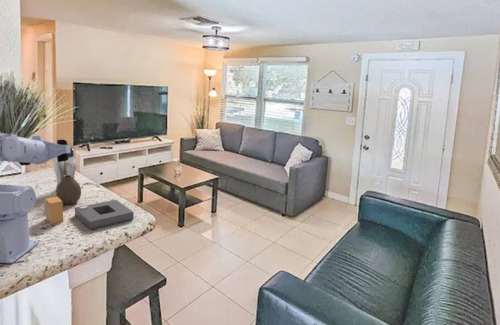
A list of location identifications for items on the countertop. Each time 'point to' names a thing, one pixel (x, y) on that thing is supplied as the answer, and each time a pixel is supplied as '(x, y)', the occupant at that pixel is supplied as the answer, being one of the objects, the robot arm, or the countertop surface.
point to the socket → (103, 214)
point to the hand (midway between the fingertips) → (58, 154)
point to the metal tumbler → (65, 167)
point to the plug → (54, 210)
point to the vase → (68, 190)
